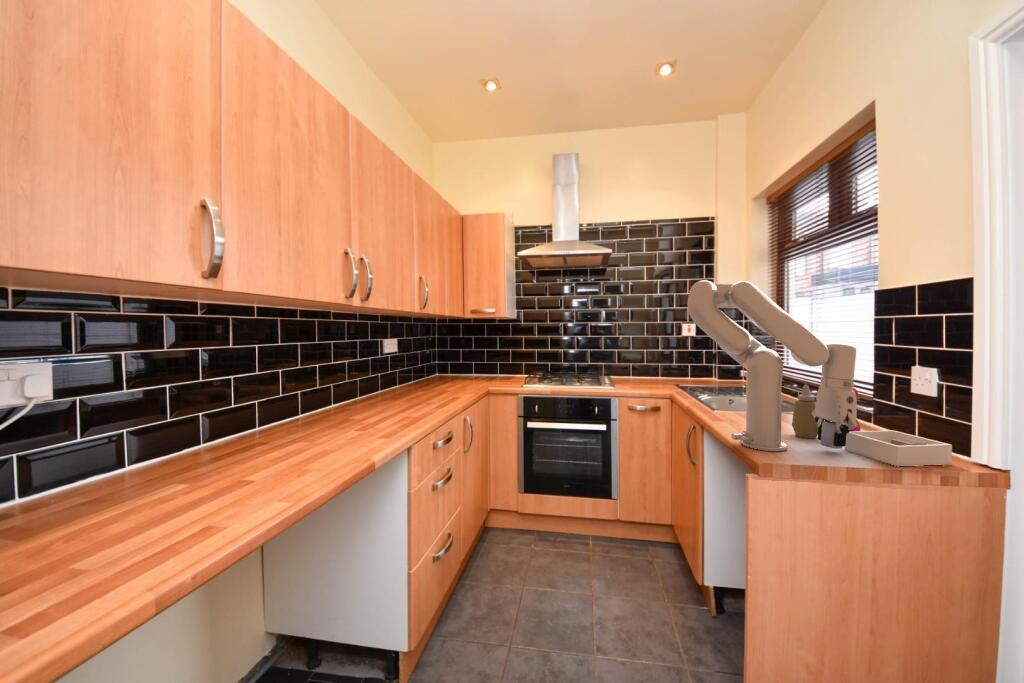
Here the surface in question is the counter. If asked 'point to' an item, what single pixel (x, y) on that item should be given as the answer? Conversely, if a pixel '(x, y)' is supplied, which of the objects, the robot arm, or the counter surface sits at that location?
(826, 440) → the grey upright block
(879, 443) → the tray
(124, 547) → the counter surface
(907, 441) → the walnut cube
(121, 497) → the counter surface
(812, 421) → the squeeze bottle
